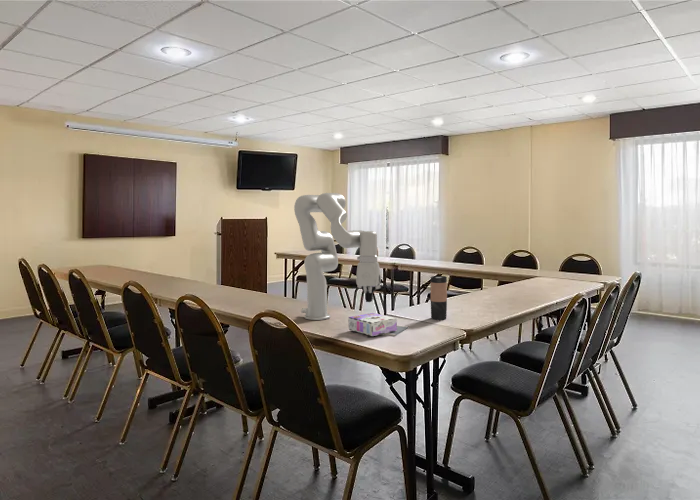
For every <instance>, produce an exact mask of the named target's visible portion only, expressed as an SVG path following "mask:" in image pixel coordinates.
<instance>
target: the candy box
mask: <svg viewBox="0 0 700 500" xmlns="http://www.w3.org/2000/svg"><path fill="white" fill-rule="evenodd" d="M397 323H398V321H397V317H393V316H388V315H384V314H378V313H373V312H372V313H365V314H359V315H354V316H348V330H349V331H352V332H356V333H358V332H359V334H364V335H367V336H370V337H374V336H375V337H376V336H380V334H385V333H390V332H394V331H397V326H398V324H397Z"/></svg>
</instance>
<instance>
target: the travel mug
mask: <svg viewBox="0 0 700 500" xmlns="http://www.w3.org/2000/svg"><path fill="white" fill-rule="evenodd" d="M447 280H448V279H447V276H446V275H445V276H444V275H434V276H433V275H432V276H431V277H430V316H431V317H430V318H431V320H434V321H435V320H436V321H444V320H447V313H448V312H447V310H448V291H447V290H448V287H447V286H448V284H447V283H448V281H447Z"/></svg>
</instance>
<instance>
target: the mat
mask: <svg viewBox="0 0 700 500" xmlns="http://www.w3.org/2000/svg"><path fill="white" fill-rule="evenodd" d="M408 328H409V326H406V325H397V331H394V332H390V333H385V334H380V335H381V336H388V337H389V336H391V337H396V336H397V335H399V334H401V333H403V332H404V331H405V330H407V329H408ZM357 333H359V332H357ZM359 334H360V333H359ZM380 335H379V336H380Z"/></svg>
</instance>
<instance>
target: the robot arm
mask: <svg viewBox="0 0 700 500" xmlns="http://www.w3.org/2000/svg"><path fill="white" fill-rule="evenodd" d="M346 203H347V202H346V198H345V197H344V195H343V194H341V193H339V192H338V193H337V192H324V193H321V194H303V195H300V196H298V197H297V198H296V199H295V202H294V207H293V209H294V215H295V217H296V220H297V223H298V226H299V231H300V234H301V235H300V237H301V239H302V244H303V248H304V249H305V250H306V251H308V252H314V253H310V254H308V255H307V256H306V257H305V258H304V262H303V264H304V269H305V274H306V290H307V291H306V298H307V307H306V308H301V309H300V310H301V313H302V314H304V319H306V320H310V321H323V320H327V319H330V318H331V314H330V313H328V298H327V297H328V294H327V293H328V292H327V291H328V288H327V279H326V276H325V275H324V273H325V272H326V273H327V272H332V271H335V270H336V269H337V268H338V265H339V258H338V253H337V249H336V244H335V242H336V243H337V244H338V245H339V246H340V247H342V248H343V249H354V248H355V249H357V248H359V256H356V259H357V261H359V262H358V263H357V268H356V277H355V278H356V279H355V283H356V285H357V288H358V289H362V291H363V293H364V294H365V295H364V299H365V302H366V303H371V302H373V300H374V292H375V291H376V290H379V289H381V288H382V286H381V284H382V277H381V268H380V263H379V262H378V234H377V232H376V231H373V230H371V231H369V230H367V231H365V230H346V229H345V227H344V226H343V225H342V224H343V223H344V222H345V221H346V219H347V217H348V214H347V212H346V210H345V207H346V205H347V204H346ZM312 213H323V214H324V216H325V218H327V219H328V221H329V222H330V232H328V231H325V230H321V231H320V230H319V228H318V224H317V221H316V219H315V217H314V216H312ZM317 251H320V252H317Z"/></svg>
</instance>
